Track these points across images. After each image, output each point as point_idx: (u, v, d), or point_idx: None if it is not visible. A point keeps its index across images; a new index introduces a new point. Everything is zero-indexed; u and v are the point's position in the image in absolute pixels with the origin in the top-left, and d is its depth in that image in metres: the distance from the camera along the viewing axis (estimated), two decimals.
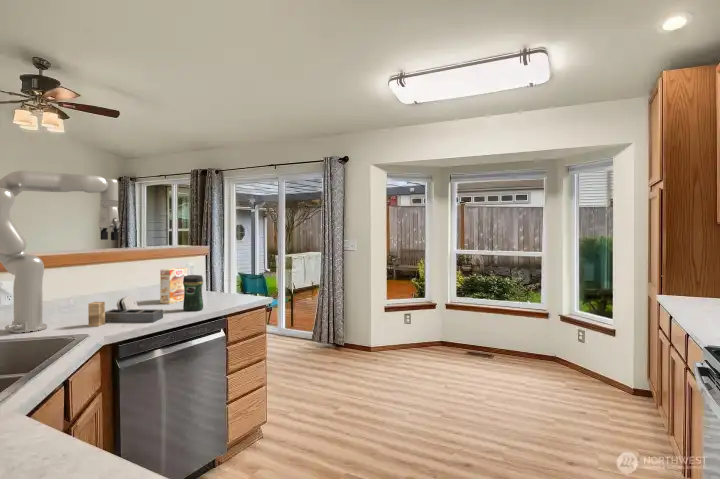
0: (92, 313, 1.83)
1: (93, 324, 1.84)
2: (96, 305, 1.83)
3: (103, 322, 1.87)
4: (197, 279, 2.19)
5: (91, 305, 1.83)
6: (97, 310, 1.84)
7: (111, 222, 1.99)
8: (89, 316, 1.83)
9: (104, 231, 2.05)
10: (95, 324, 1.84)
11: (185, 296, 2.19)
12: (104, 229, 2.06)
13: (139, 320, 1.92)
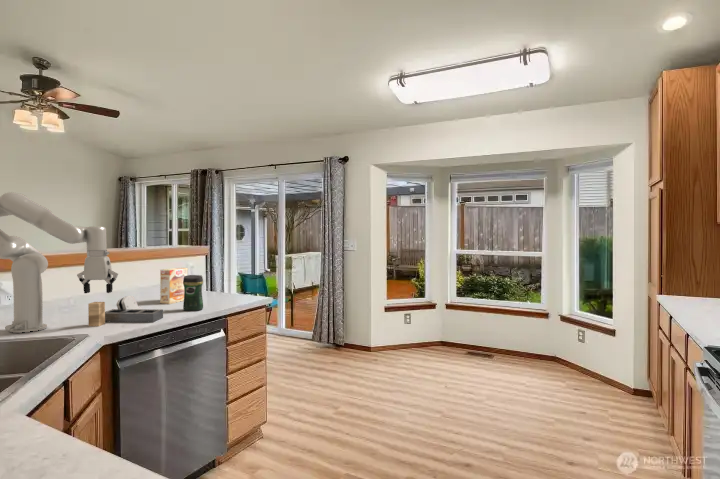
0: (92, 313, 1.83)
1: (93, 324, 1.84)
2: (96, 305, 1.83)
3: (103, 322, 1.87)
4: (197, 279, 2.19)
5: (91, 305, 1.83)
6: (97, 310, 1.84)
7: None
8: (89, 316, 1.83)
9: None
10: (95, 324, 1.84)
11: (185, 296, 2.19)
12: None
13: (139, 320, 1.92)
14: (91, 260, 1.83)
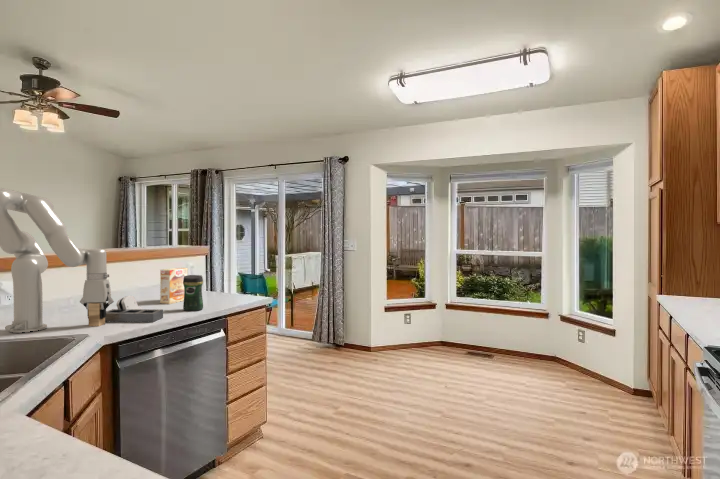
0: (92, 313, 1.83)
1: (93, 324, 1.84)
2: (96, 305, 1.83)
3: (103, 322, 1.87)
4: (197, 279, 2.19)
5: (91, 305, 1.83)
6: (97, 310, 1.84)
7: None
8: (89, 316, 1.84)
9: None
10: (95, 324, 1.84)
11: (185, 296, 2.19)
12: None
13: (139, 320, 1.92)
14: (91, 283, 1.83)
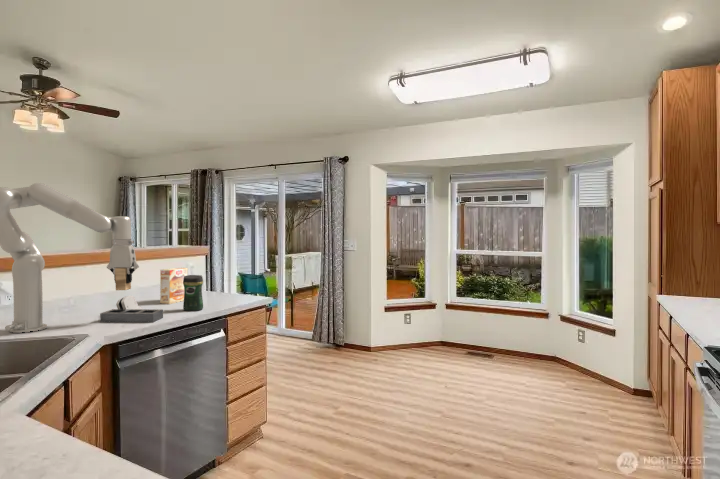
0: (119, 277, 1.91)
1: (120, 288, 1.91)
2: (122, 270, 1.91)
3: (129, 287, 1.94)
4: (197, 279, 2.19)
5: (118, 270, 1.91)
6: (124, 275, 1.91)
7: None
8: (116, 281, 1.91)
9: None
10: (122, 288, 1.91)
11: (185, 296, 2.19)
12: None
13: (139, 320, 1.92)
14: (117, 249, 1.90)
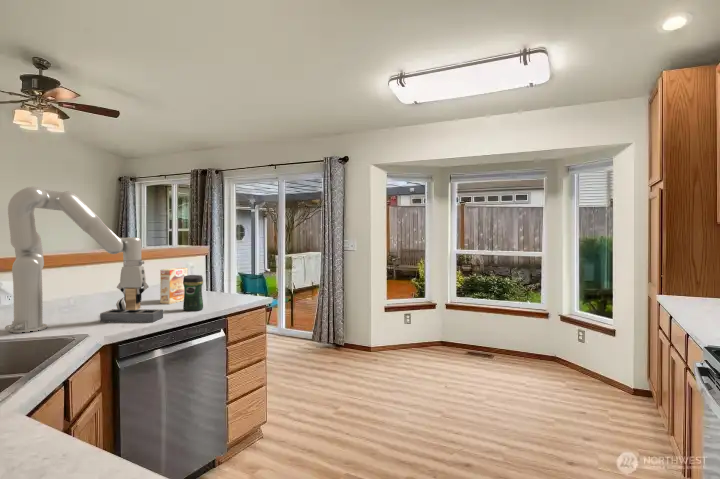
0: (129, 297, 1.95)
1: (130, 308, 1.95)
2: (133, 290, 1.95)
3: (138, 306, 1.98)
4: (197, 279, 2.19)
5: (128, 290, 1.95)
6: (134, 295, 1.95)
7: None
8: (126, 301, 1.95)
9: None
10: (132, 308, 1.95)
11: (185, 296, 2.19)
12: None
13: (139, 320, 1.92)
14: (128, 269, 1.94)
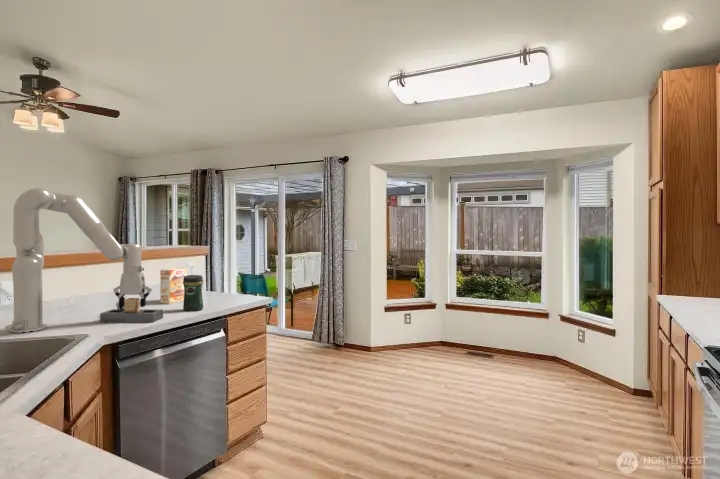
0: (128, 308, 1.95)
1: None
2: (132, 301, 1.95)
3: None
4: (197, 279, 2.19)
5: (127, 301, 1.95)
6: (133, 306, 1.95)
7: None
8: (125, 312, 1.95)
9: None
10: None
11: (185, 296, 2.19)
12: None
13: (139, 320, 1.92)
14: (128, 276, 1.94)
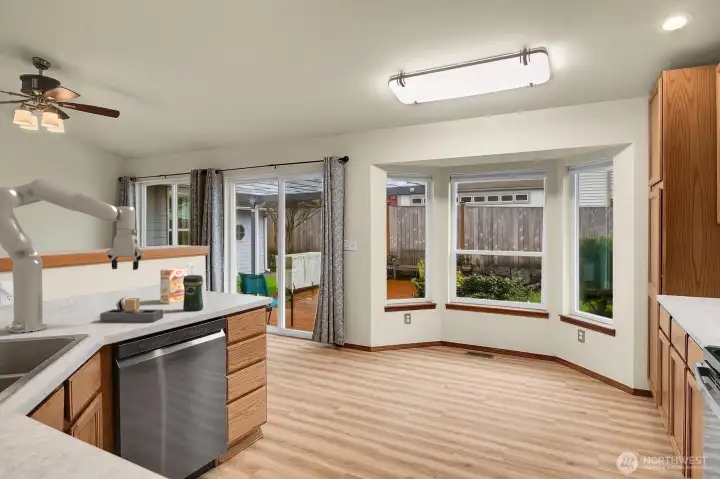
0: (128, 308, 1.95)
1: None
2: (132, 301, 1.95)
3: None
4: (197, 279, 2.19)
5: (127, 301, 1.95)
6: (133, 306, 1.95)
7: None
8: (125, 312, 1.95)
9: None
10: None
11: (185, 296, 2.19)
12: None
13: (139, 320, 1.92)
14: (121, 238, 1.94)
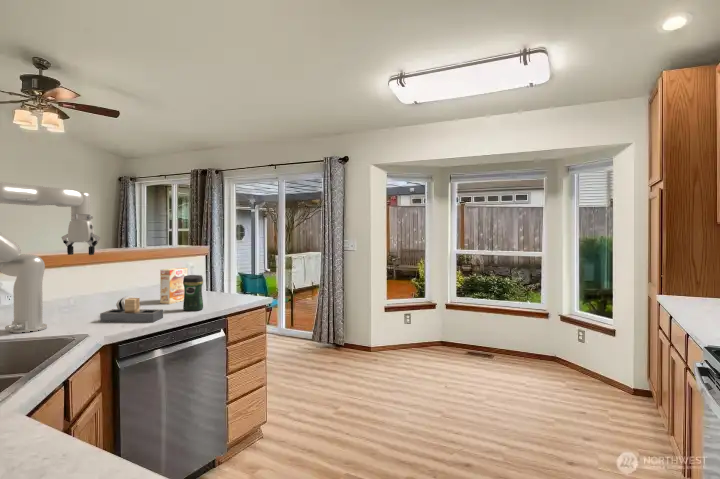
0: (128, 308, 1.95)
1: None
2: (132, 301, 1.95)
3: None
4: (197, 279, 2.19)
5: (127, 301, 1.95)
6: (133, 306, 1.95)
7: None
8: (125, 312, 1.95)
9: None
10: None
11: (185, 296, 2.19)
12: None
13: (139, 320, 1.92)
14: (75, 223, 1.95)
